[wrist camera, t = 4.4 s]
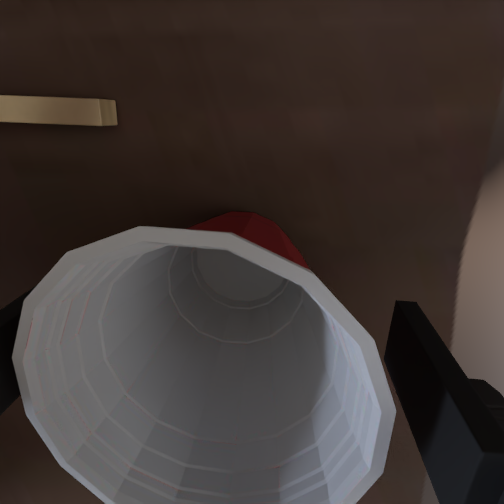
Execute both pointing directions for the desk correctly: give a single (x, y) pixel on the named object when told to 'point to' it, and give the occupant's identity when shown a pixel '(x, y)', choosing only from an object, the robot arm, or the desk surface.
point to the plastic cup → (202, 371)
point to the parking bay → (58, 110)
